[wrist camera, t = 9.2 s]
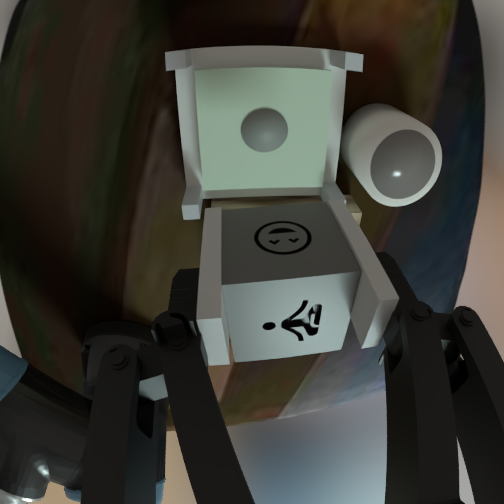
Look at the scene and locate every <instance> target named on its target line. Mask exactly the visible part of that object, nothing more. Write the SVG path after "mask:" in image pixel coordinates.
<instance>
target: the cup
mask: <svg viewBox="0 0 504 504" xmlns="http://www.w3.org/2000/svg"><path fill="white" fill-rule="evenodd" d="M340 151H341V155H342V158H343V160H344V162H345V163H346V165H347V166H348V167H349V169H350V170H351V171H352V172H353V174H354V175H355V176H356V178H357V179H358V180H359V181H360V183H361V184H362V185H363V187H364V188H365V189H366V191H367V192H368V193H369V195H370V196H371V197H372V198H373V199H375V200H376V201H377V202H379V203H381V204H384V205H387V206H404V205H407V204H410V203H413V202H415V201H416V200H418V199H420V198H421V197H422V196H424V195H425V194H426V193H427V192H428V191H429V190H430V189H431V187H432V186H433V184H434V183H435V181H436V179H437V177H438V175H439V172H440V169H441V164H442V151H441V146H440V143H439V141H438V138H437V137H436V135H435V134H434V132H433V131H432V130H431V129H430V128H429V127H427V126H426V125H424V124H423V123H421V122H419V121H418V120H416V119H414V118H412V117H411V116H409V115H407V114H405V113H404V112H402V111H400V110H398V109H396V108H395V107H393V106H390V105H388V104H383V103H374V104H369V105H366V106H363V107H361V108H360V109H358V110H357V111H355V112H354V113H353V114H352V115H351V116H350V117H349V118H348V120H347V121H346V123H345V124H344V127H343V129H342V132H341V139H340Z"/></svg>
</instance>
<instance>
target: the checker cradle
mask: <svg viewBox="0 0 504 504" xmlns="http://www.w3.org/2000/svg"><path fill="white" fill-rule="evenodd" d="M165 58H166V71H169V70H175V74H176V88H177V100H178V112H179V122H180V133H181V142H182V152H183V161H184V169H185V178H186V186H187V187H186V191H185V195H184V198H183V202H182V212H183V218H184V220H190V219H200V215H201V208H202V201H203V199H210V198H231V197H257V196H297V195H320V197H321V199H322V201H323V202H326V203H327V204H328V200H343V201H344V203H345V204H346V199H345V197H344V196H343V194H342V193H341V191H340V189H339V188H338V186H337V185H336V183H335V180H336V173H337V165H338V156H339V148H340V139H341V129H342V119H343V108H344V96H345V83H346V70H352V71H360V72H362V69H363V54H357V53H352V52H345V51H338V50H329V49H319V48H307V47H291V46H224V47H207V48H195V49H185V50H177V51H171V52H165ZM245 66H276V67H302V68H318V69H329V70H331V71H333V72H332V89H331V103H330V116H329V128H328V140H327V150H326V160H325V170H324V179H323V187H287V188H249V189H225V190H205V191H204V189H203V179H202V168H201V157H200V145H199V133H198V119H197V105H196V90H195V73H194V70H196V69H204V68H219V67H245Z"/></svg>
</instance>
